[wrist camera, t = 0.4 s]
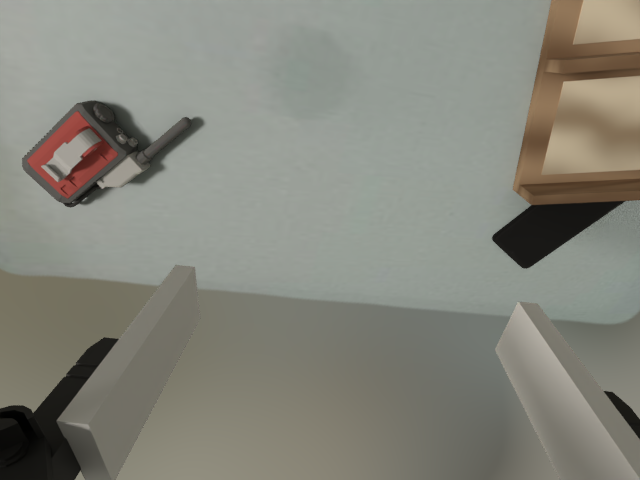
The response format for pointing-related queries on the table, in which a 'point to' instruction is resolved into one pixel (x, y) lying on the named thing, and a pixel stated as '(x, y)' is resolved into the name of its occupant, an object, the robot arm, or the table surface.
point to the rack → (584, 107)
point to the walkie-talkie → (90, 154)
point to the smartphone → (547, 228)
